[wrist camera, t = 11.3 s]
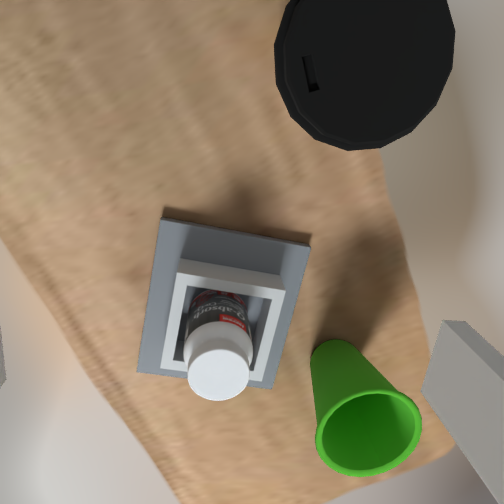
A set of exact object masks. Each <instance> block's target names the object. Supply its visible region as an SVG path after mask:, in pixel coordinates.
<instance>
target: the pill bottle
mask: <svg viewBox="0 0 504 504" xmlns="http://www.w3.org/2000/svg"><path fill="white" fill-rule="evenodd" d="M183 354H184V361H185V364H186V367H187V368H188V382H189V385H190V387H191V388H192V390H193V391H194V392H195V393H196V394H198V395H199V396H201V397H203V398H205V399H208V400H215V401H220V400H221V401H222V400H227V399H230V398H232V397H234V396H236V395H238V394H239V393H240V392H241V391H242V390H243V389H244V388H245V387H246V385H247V383H248V381H249V377H250V369H249V366H250V364H251V362H252V358H253V344H252V338H251V332H250V326H249V320H248V313H247V309H246V306H245V304H244V302H243V300H242V299H241V298H240V297H239V296H238V295H237V294H235V293H231V292H225V291H219V290H213V289H210V290H207V291H204V292H202V293H201V294H199V295H198V296H197V297H196V298H195V299H194V300H193V301H192V303H191V305H190V307H189V310H188V315H187V324H186V333H185V342H184V351H183Z"/></svg>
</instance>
